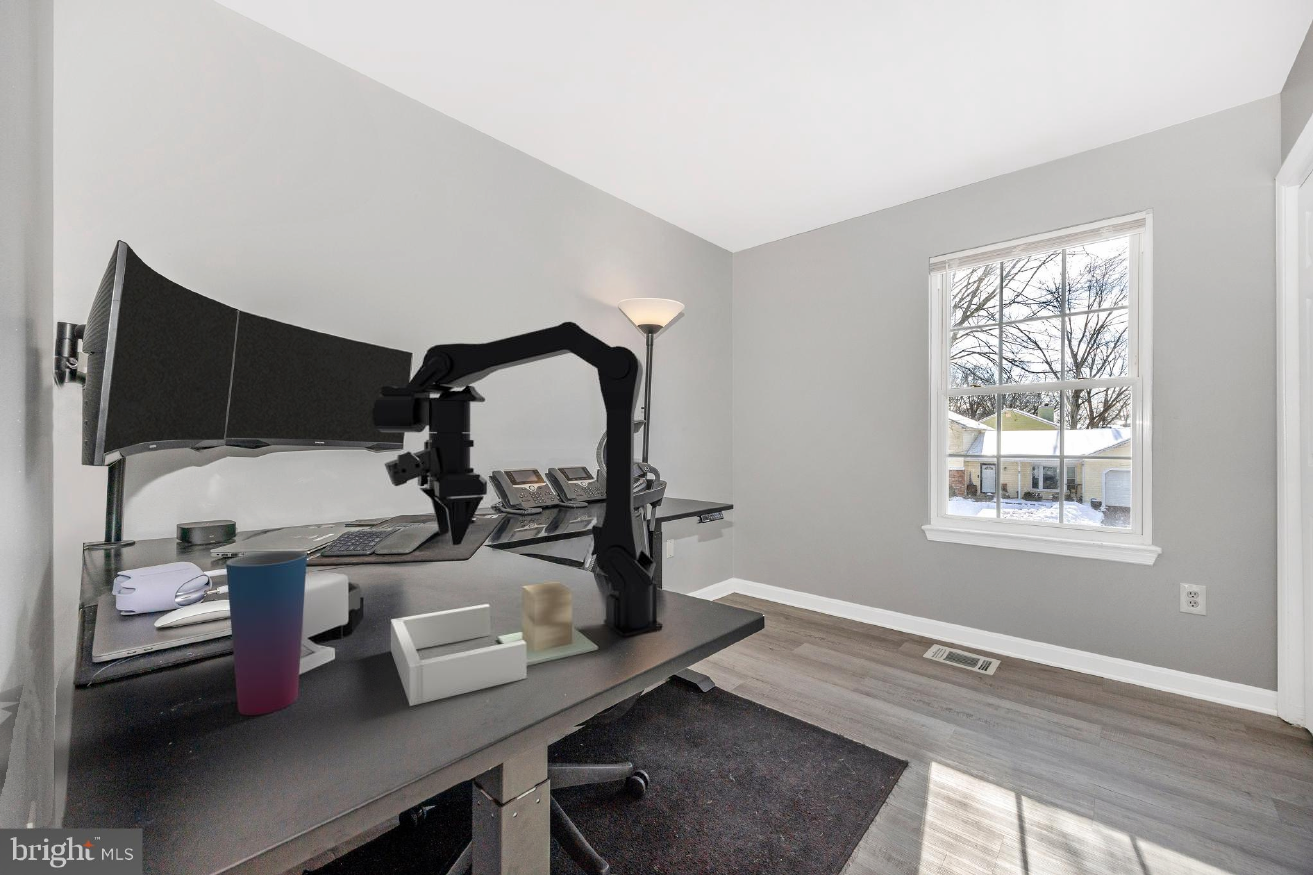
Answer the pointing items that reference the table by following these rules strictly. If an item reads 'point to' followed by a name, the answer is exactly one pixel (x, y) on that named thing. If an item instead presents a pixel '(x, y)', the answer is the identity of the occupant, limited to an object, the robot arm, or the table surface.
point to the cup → (266, 627)
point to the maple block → (546, 615)
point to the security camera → (322, 615)
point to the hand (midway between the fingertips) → (449, 539)
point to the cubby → (452, 655)
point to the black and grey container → (353, 616)
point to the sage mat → (577, 647)
